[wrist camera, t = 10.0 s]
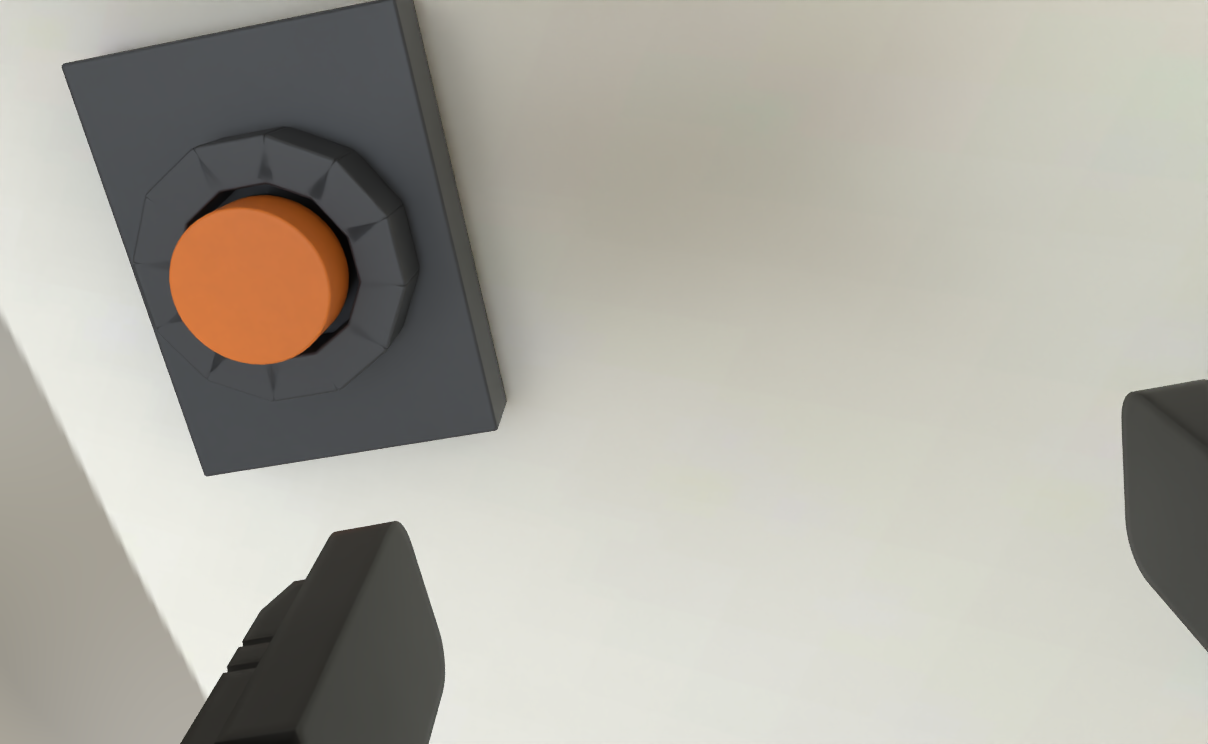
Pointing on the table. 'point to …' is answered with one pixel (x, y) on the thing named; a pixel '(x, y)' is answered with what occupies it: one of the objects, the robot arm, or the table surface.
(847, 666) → the table surface
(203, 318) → the stop button
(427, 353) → the block
